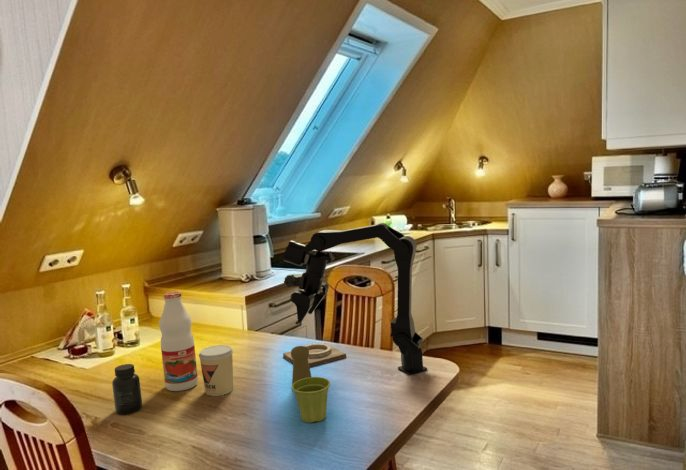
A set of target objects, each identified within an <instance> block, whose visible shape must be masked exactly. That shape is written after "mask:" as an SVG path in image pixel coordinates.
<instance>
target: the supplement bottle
mask: <svg viewBox="0 0 686 470" xmlns="http://www.w3.org/2000/svg"><path fill="white" fill-rule="evenodd" d="M114 376H115V377H114V379H113V380H112V382H111V385H112V386H111V387H112V392H113V394H112V395H113V401H114V402H113V403H114V410H115V413H116V414H117V415H121V416H127V414H128V415H131V414H135V413H137V412H139V411H140V410H141V409H142V408H143V397H142V389H141V381H140V377H139V375H138V374H136V371H135V365H134V364H132V363H126V364H121V365H118V366H116V367H115V368H114Z"/></svg>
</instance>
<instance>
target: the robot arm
mask: <svg viewBox="0 0 686 470" xmlns="http://www.w3.org/2000/svg"><path fill="white" fill-rule="evenodd" d="M377 238H378V239H380V240H381V241H382V242H383V243H384V244H385V245H386V246H387V247H388V248H390V250H392V251H393V254H394V261H395V264H396V267H397V303H396V304H397V307H396V308H397V309H396V310H397V313H396V314H397V315H396V317H394V318H393V319H392V321H391V322H390V328H391V330H390V331H391V333H390V335H389V337H392V342H393V343H394V345H396V346H397V347H398V350H399V352H400V361H401V363H400V364H401V365H400V366H397V369H398V370H399V371H402V372H404V373H406V374H408V375H409V376H410V375H411V376H412V375H414V374H418V373H420V372H421V373H422V372H425V371H427V370H428V368H427V367H426V366H424V362H423V361H424V360H423V350H422V348H421V346H422V344H423V342H424V341H423V340H424V339H423V337H422V336H421V335H420V334H419V333H417V331H416V327H415V322H414V319H413V315H412V293H413V292H412V291H413V290H412V288H413V285H412V283H413V282H412V280H413V279H412V278H413V276H412V275H413V273H412V272H413V265H414V262H415V257H416V252H417V247H418V245H417V241H416V239H415V238H413V237H412V236H410V235H405V234H403V233H402V232H400V231H398V230H396V229H394V228H393V227H391V226H389V225H388V224H387V223H386V222H380V223H377V224H371V225H367V226H360V227H355V228H350V229H349V228H348V229H344V230H338V229H323V230H320V231H318V232H315V233H313V234H312V236H311V238H310V241H309V242H307V243H306V244H303V243H299V242H297V241H295V240H289V241H288V243H287V246H286V248H285V249H284V252H283V256H282V260H283V262H286V263H290V264H292V265H296V266H298V267H302V266H303V265H306V269H305V271H304V272H302V273H297V274H295V273H294V274H287V275H286V276H285V277H284V281H283V284H285V287H286V288H292V287H293V288H295V287H298V289H297V290H295V291H294V292H292V293H291V294H290V299H289V300H290V302H292V303H293V304H294V305H295V307H296V315H297V316H296V317H297V322H298V323H302V322H303V321H304V319H305V317H306V316H307V315H312V314H313V312H314V311H315V310H316V308H317V307H318V306H319V305H320V303H321V301H322V300H323V299H324V297H325V296H326V295H327V294H328V292H329V288H330V286H329V284H328V282H324V280H325V278H326V276H327V275H326V273H325V272H326V268H327V263H328V261H329V262H333V261H334V260H335V259H336V258H335V256H334V254H332V251H329V252H325V251H326V250H329V249H333V248H334V247H337V246H339V245H341V244H348V243H353V242H354V243H355V242H359V241H365V240H370V239H377ZM315 251H316V252H315Z"/></svg>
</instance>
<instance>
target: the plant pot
mask: <svg viewBox="0 0 686 470" xmlns="http://www.w3.org/2000/svg"><path fill="white" fill-rule="evenodd" d="M330 385H331V382H330V380H329V379H328V378H325V377H321V376H312V377H308V378H304V379H300V380H298V381H296V382H294V383H293V385H292V384H291V389H292V391H293V392H294V395H295V396H296V401H297V405H298V408H299V414H300V417H301V421H303V422H304V423H309V424H310V423H314V422H318V423H319V422H321V421H323V420H325V419H326V417H327V405H328V404H327V403H328V392H329V387H330Z"/></svg>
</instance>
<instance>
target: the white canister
mask: <svg viewBox="0 0 686 470" xmlns="http://www.w3.org/2000/svg"><path fill="white" fill-rule="evenodd" d="M233 353H234V352H233V348H232V347H231V346H229V345H223V344H219V345H218V344H217V345H211V346H208V347H204V348H203V349H201V350H200V351H199V354H198V358H199V363H200V367H201V373H202V380H203V385H204V391H205V394H206V395H207V394H208V395H207V396H209V395H211V396H210V397H218V396H219V397H221V396H225V395H228V394H230V393H231V392H232V391H233V390H234V367H233V366H234V363H233V358H234V357H233ZM224 394H225V395H224ZM220 395H221V396H220Z"/></svg>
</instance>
